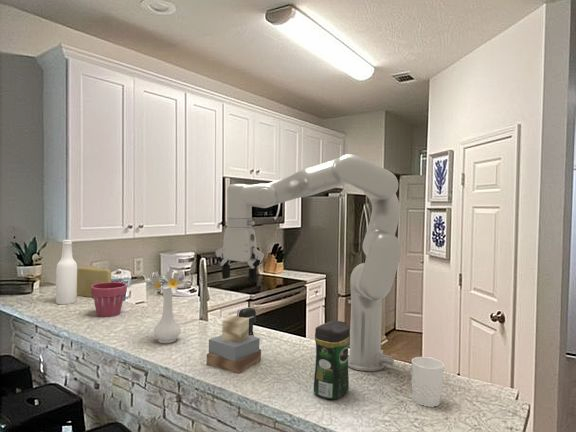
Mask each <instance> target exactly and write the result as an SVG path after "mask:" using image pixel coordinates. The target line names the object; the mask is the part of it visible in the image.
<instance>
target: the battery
mask: <svg viewBox="0 0 576 432" xmlns="http://www.w3.org/2000/svg"><path fill="white" fill-rule="evenodd" d="M236 317H244V318H249V336H253V337H255V335H254V323H257V312H256V309H255V308H253V307H249V306H248V307H243V308H239V309H238V310H237V312H236Z"/></svg>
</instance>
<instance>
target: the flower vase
mask: <svg viewBox="0 0 576 432" xmlns="http://www.w3.org/2000/svg"><path fill="white" fill-rule="evenodd" d="M185 277H186V276H185V274H184V273H181V272H180V270H177V272H176V273H175V274H174V275H173V272H172V271H171V270H168V271H167V272H166V274H164V275H160V274H159V271H158V270H157V271H154V272H152V274H151V277H148V278H145V279H144V282H145V283H146V284H147V286H148V287H147V288H146V290H147V291H148V293H152V292H153V297H156V296H158V295H157V294H158V292H161V291H162V294H163V305H162V306H163V307H162V314H161V315H162V316H161V319H160V320H159V322H158V323H157V325H155V327H154V328H153V335H154V337H155V338H156V339H157V341H158V343H161V344H171V343H174V342H176V341H177V337H179V336H180V335H181V332H182V329H181V327H180V325H179V324H178V323H177V321H176V320H175V318H174V313H173V297H174V295H175V294H177V292H178V287H184V289H186V290H188V288H189V286H190V285H189V283H187V281H185Z"/></svg>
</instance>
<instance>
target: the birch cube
mask: <svg viewBox="0 0 576 432" xmlns="http://www.w3.org/2000/svg"><path fill="white" fill-rule="evenodd" d="M221 333H222V334H221V335H222V340H223V341H230V342H237V343H241V342H242V341H244V340H245V339H247V338H248V337H249V318H244V317H237V315H235V316H234V315H231V316H229V317H227V318H225V319H223V320H222V332H221Z"/></svg>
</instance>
